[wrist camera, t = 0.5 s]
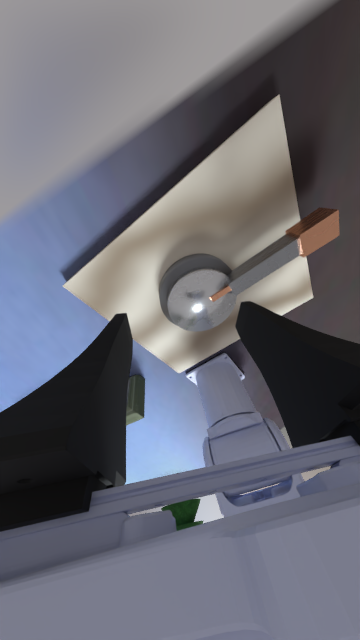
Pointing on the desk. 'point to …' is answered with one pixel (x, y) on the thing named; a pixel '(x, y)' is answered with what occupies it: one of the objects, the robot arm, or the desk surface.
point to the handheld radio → (135, 399)
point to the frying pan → (244, 273)
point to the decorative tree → (184, 513)
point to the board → (204, 243)
